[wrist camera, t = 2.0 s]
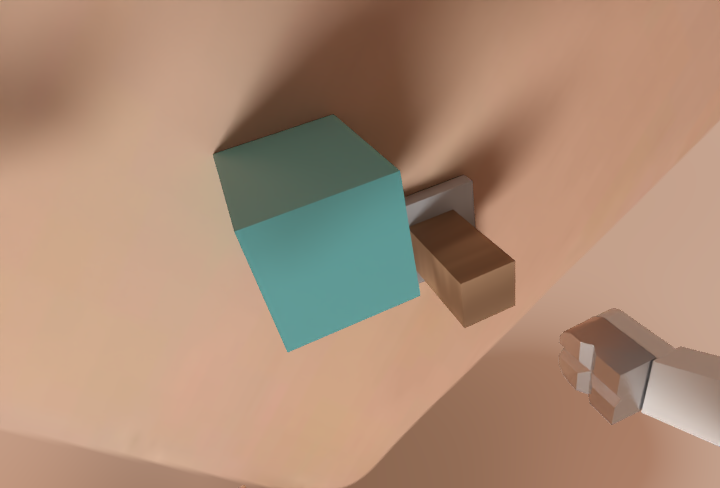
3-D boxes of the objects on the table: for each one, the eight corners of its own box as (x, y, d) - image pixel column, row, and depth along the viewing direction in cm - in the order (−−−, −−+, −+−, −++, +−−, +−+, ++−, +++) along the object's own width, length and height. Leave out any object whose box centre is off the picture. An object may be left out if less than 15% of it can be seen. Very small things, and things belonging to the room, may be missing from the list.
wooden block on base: (374, 208, 22) (431, 272, 17) (463, 174, 23) (540, 227, 18) (390, 284, 25) (443, 356, 20) (469, 251, 26) (536, 313, 21)
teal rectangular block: (212, 154, 18) (234, 231, 13) (333, 114, 19) (399, 170, 14) (255, 255, 21) (287, 352, 16) (358, 216, 22) (420, 295, 17)
